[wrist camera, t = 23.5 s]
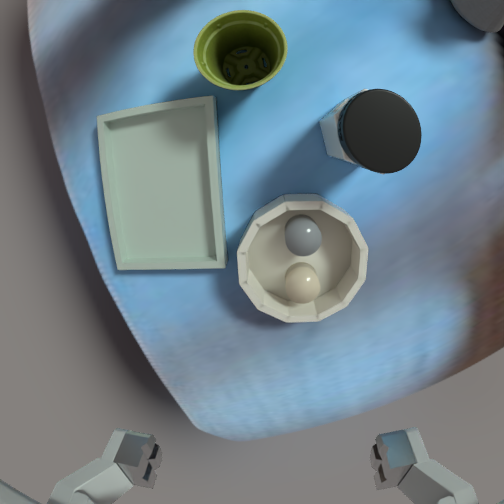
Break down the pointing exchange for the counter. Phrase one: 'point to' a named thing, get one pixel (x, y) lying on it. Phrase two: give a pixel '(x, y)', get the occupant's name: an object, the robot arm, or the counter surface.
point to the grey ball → (302, 235)
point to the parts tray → (164, 185)
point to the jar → (373, 131)
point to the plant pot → (236, 39)
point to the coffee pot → (482, 13)
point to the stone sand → (302, 283)
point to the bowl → (301, 258)
